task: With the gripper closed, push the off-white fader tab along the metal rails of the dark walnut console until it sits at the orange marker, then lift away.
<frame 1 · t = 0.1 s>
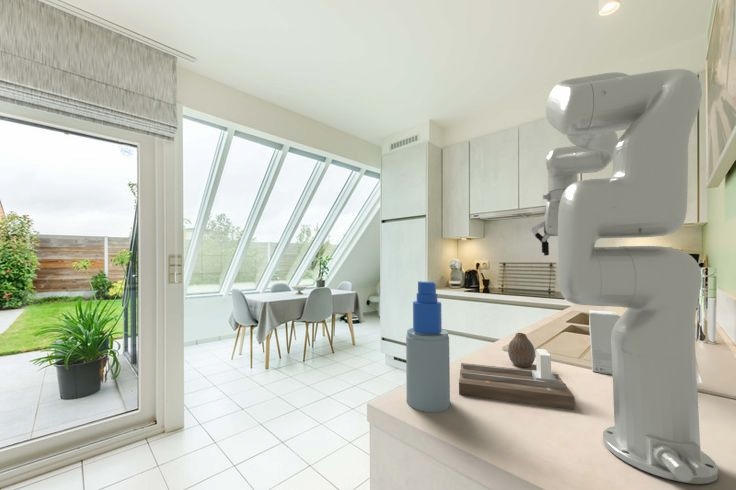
hand: (564, 255, 91), 31 cm above the counter, fingers open, 9 cm apart
spray bottle: (427, 402, 64), on the counter
skincare box: (605, 370, 84), on the counter
fader console: (510, 388, 71), on the counter
fader slider: (543, 366, 69), point 6 cm above the counter, slide at -7.0 cm
vase: (521, 365, 88), on the counter
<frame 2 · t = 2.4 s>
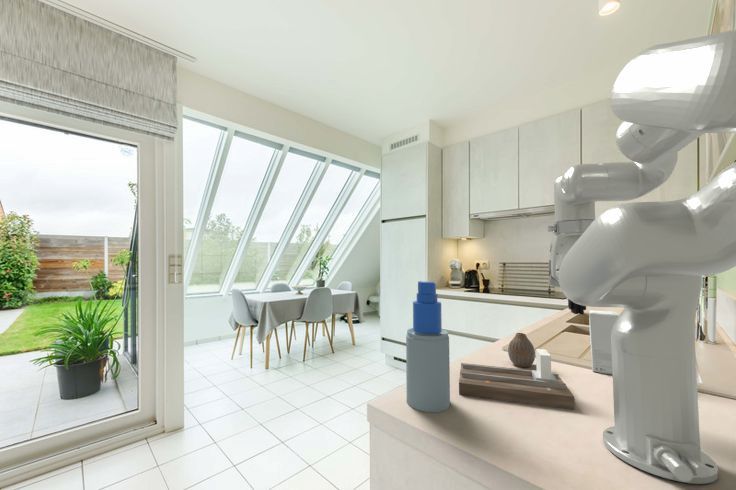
hand: (577, 313, 68), 18 cm above the counter, fingers closed
nothing on the counter moved.
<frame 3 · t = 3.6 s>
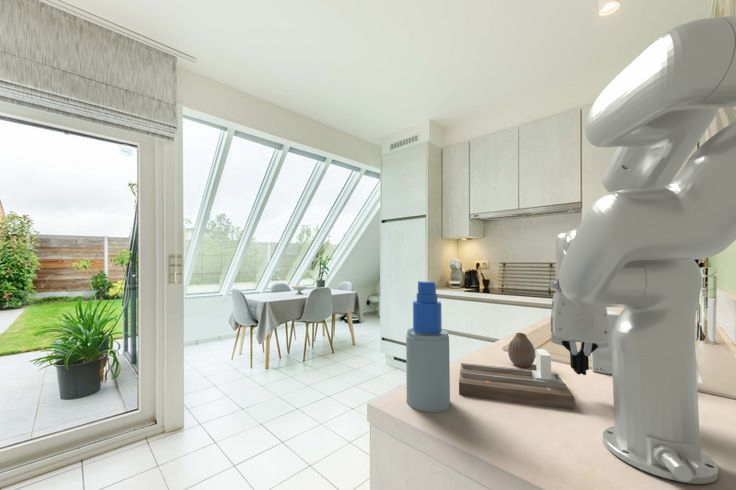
hand: (579, 372, 67), 5 cm above the counter, fingers closed
nothing on the counter moved.
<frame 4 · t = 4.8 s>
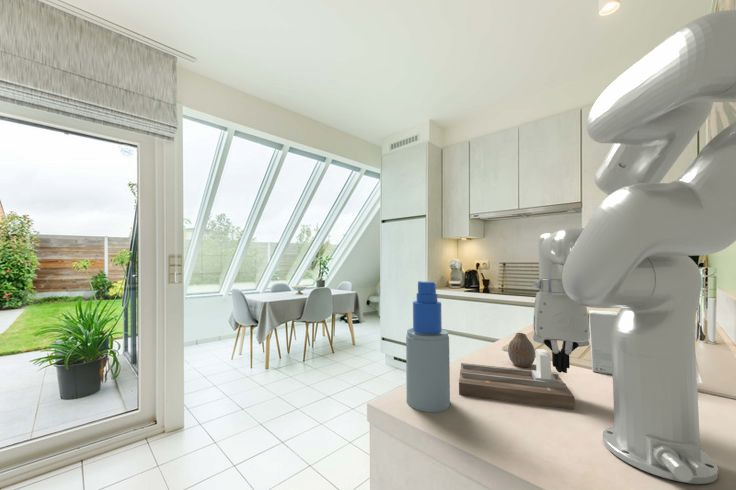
hand: (561, 370, 68), 5 cm above the counter, fingers closed
fader slider: (543, 366, 69), point 6 cm above the counter, slide at -7.0 cm, touching gripper
everything else where it was.
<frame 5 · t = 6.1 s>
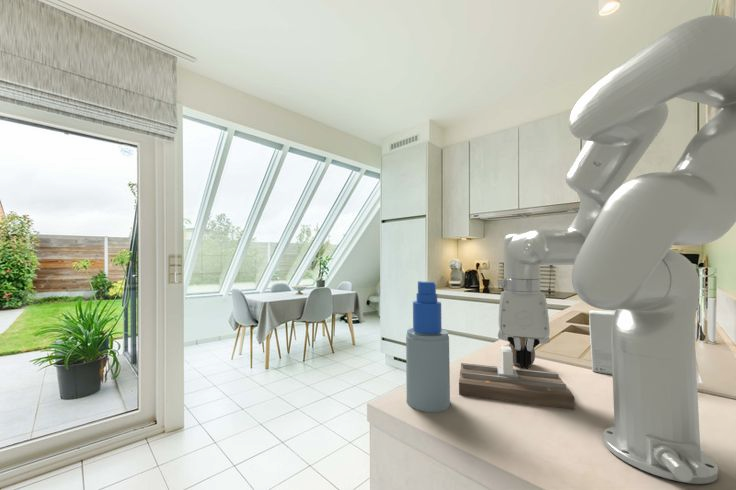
hand: (523, 366, 71), 5 cm above the counter, fingers closed
fader slider: (507, 362, 72), point 6 cm above the counter, slide at 0.5 cm, touching gripper
everything else where it was.
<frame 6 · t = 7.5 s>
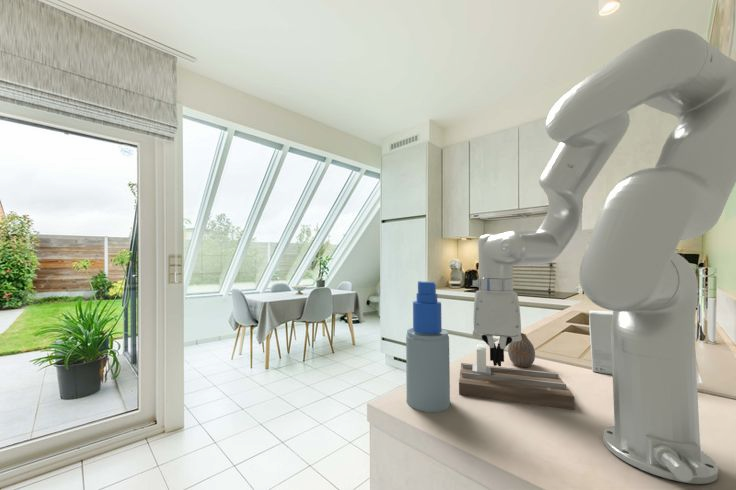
hand: (497, 364, 73), 5 cm above the counter, fingers closed
fader slider: (481, 360, 74), point 6 cm above the counter, slide at 6.1 cm, touching gripper
everything else where it was.
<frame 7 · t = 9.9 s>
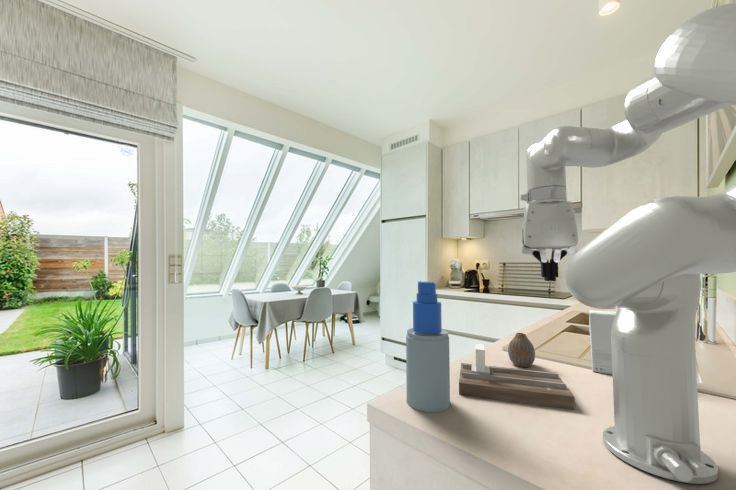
hand: (549, 280, 68), 25 cm above the counter, fingers closed
fader slider: (480, 360, 74), point 6 cm above the counter, slide at 6.4 cm
everything else where it was.
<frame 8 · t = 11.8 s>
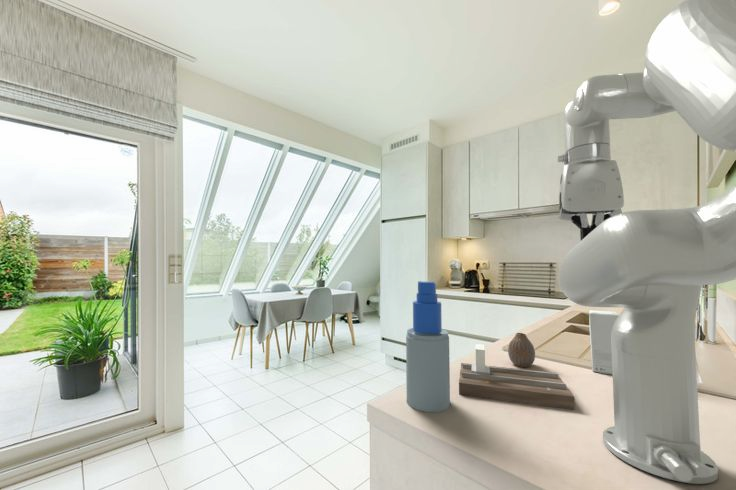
hand: (590, 247, 63), 32 cm above the counter, fingers closed
nothing on the counter moved.
at the end: fader slider slide at 6.4 cm; vase moved 0.2 cm from its start; spray bottle moved 0.2 cm from its start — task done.
